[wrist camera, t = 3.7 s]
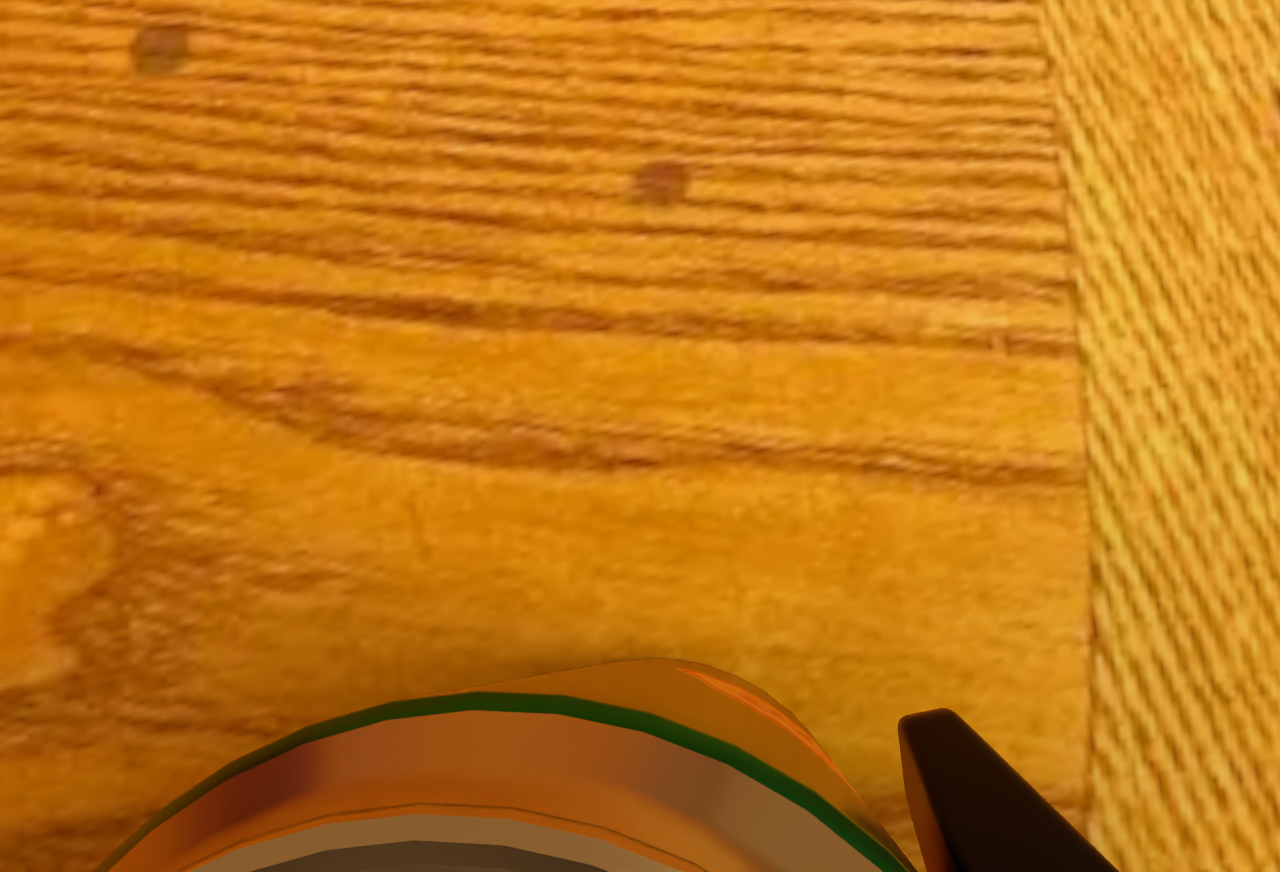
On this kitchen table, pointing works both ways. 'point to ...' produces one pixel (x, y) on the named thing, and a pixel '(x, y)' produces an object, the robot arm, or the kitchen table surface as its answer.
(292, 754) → the soda can
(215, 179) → the kitchen table surface
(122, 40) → the kitchen table surface
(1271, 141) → the kitchen table surface
